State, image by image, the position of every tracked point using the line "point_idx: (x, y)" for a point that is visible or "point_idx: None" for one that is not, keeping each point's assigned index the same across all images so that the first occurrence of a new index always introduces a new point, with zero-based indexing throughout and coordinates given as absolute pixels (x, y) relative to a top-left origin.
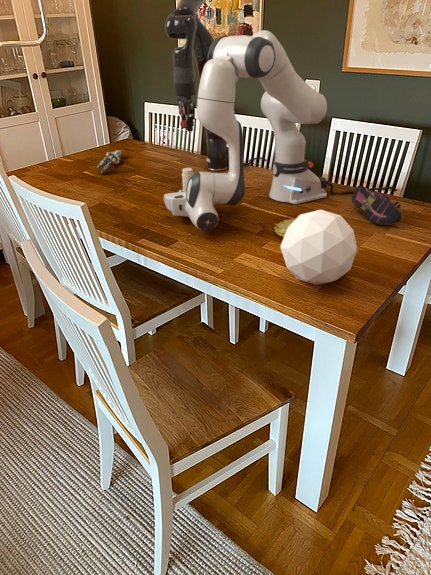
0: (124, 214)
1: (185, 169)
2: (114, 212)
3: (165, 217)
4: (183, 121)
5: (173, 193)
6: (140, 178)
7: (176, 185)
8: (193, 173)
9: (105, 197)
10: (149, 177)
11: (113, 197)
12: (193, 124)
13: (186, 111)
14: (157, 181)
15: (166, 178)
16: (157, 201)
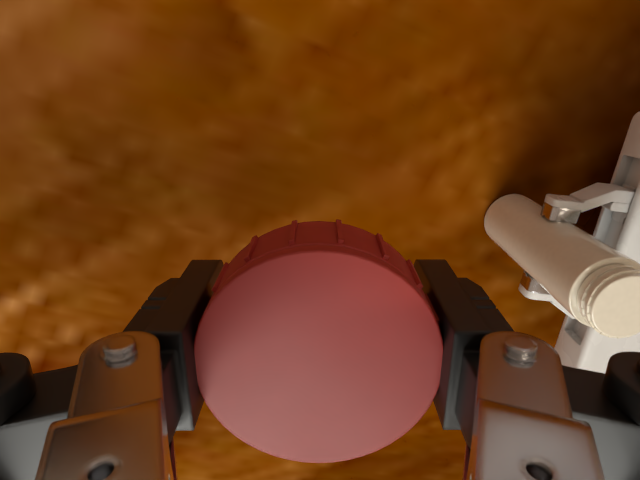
0: (428, 446)
1: (622, 320)
2: (392, 470)
3: (541, 333)
4: (323, 424)
5: (601, 350)
6: (22, 317)
7: (185, 185)
8: (634, 262)
9: (226, 473)
10: (16, 276)
11: (237, 451)
12: (392, 252)
13: (170, 465)
14: (92, 255)
15: (55, 202)
16: None
